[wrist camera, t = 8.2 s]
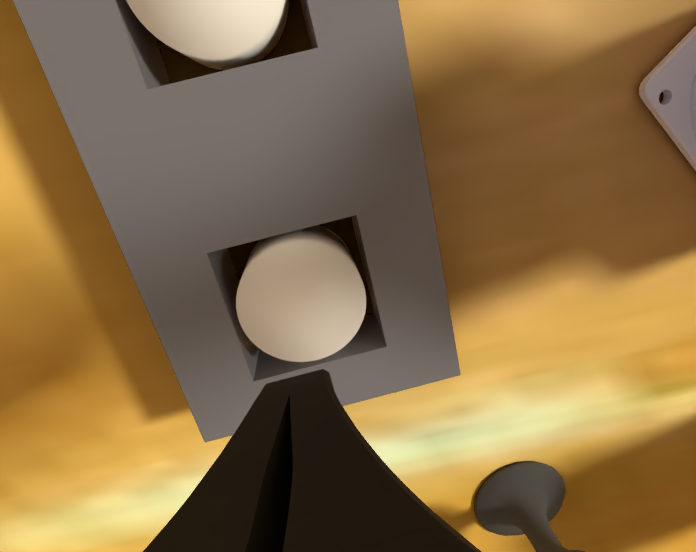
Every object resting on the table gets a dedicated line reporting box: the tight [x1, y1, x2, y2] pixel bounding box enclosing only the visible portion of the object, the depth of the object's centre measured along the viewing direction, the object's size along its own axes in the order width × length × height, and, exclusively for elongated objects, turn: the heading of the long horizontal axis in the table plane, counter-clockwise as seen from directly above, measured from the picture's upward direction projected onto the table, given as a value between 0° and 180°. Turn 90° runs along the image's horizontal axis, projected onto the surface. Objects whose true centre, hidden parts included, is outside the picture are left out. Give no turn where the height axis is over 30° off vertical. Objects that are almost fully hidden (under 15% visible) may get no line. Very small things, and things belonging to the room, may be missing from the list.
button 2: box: [236, 225, 366, 362], centre depth 16 cm, size 4×4×3 cm
